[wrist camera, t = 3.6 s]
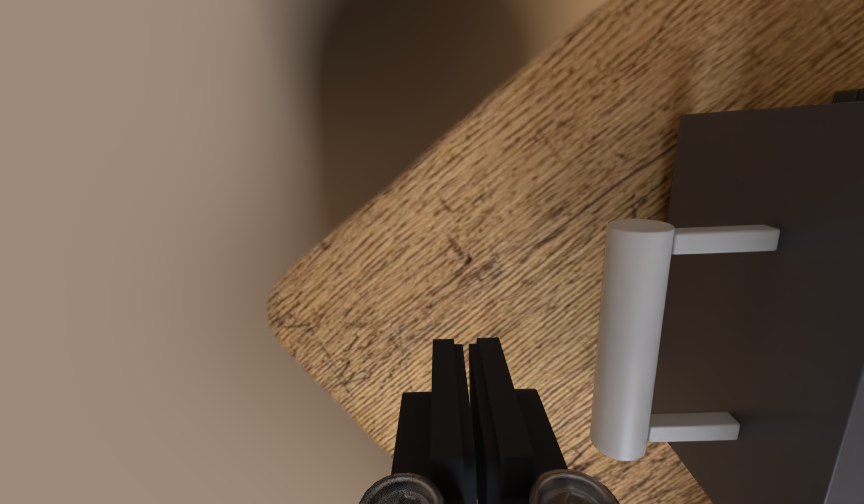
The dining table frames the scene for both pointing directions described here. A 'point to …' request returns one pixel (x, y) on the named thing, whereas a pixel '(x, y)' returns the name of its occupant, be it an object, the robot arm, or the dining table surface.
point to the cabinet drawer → (744, 310)
